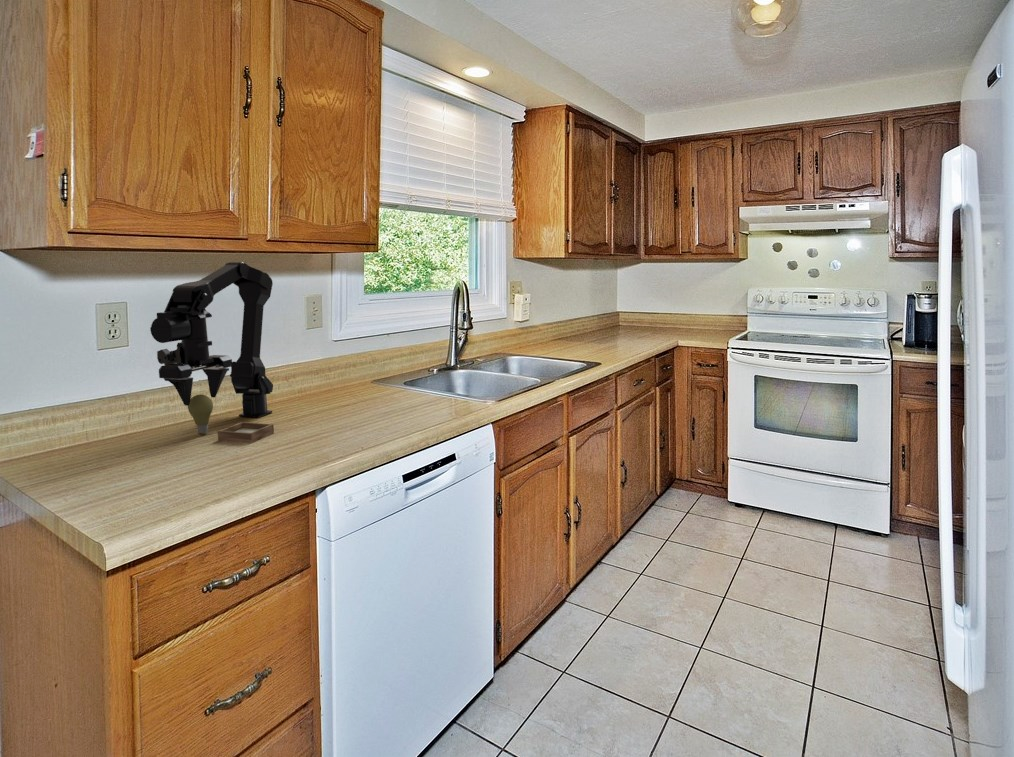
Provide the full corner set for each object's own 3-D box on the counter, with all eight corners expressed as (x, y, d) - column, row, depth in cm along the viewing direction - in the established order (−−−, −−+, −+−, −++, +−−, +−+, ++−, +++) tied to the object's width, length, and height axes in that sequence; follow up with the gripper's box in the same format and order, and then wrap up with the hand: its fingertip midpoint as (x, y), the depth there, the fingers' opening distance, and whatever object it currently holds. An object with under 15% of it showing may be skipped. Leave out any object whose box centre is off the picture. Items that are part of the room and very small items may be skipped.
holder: (242, 431, 160) (241, 422, 159) (274, 433, 158) (273, 424, 157) (218, 440, 151) (217, 431, 151) (251, 443, 149) (250, 433, 149)
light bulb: (191, 432, 158) (188, 393, 157) (216, 430, 160) (212, 391, 159) (189, 438, 153) (185, 397, 151) (214, 436, 155) (211, 396, 153)
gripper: (193, 332, 163) (199, 392, 166) (135, 341, 146) (142, 408, 148) (231, 333, 161) (236, 394, 164) (176, 343, 143) (183, 410, 146)
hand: (200, 401), depth 155 cm, fingers open, 9 cm apart
